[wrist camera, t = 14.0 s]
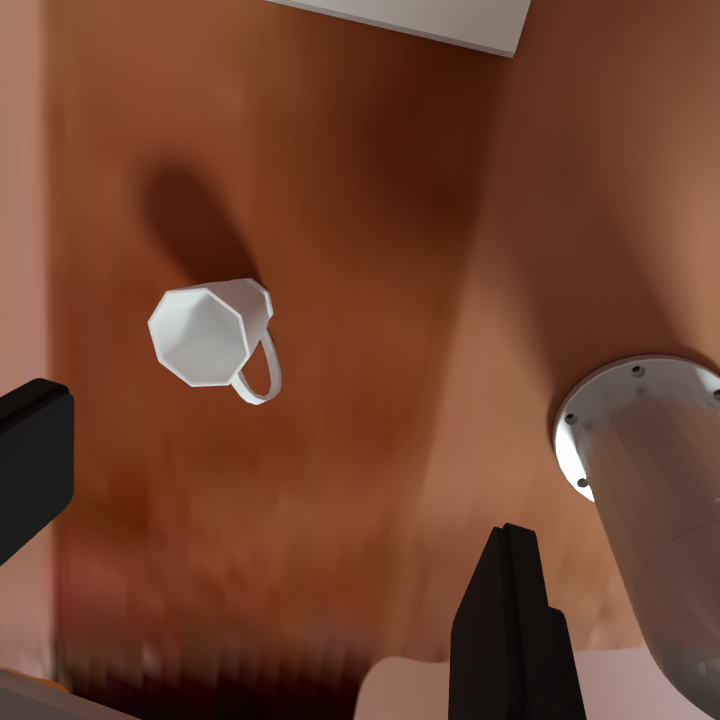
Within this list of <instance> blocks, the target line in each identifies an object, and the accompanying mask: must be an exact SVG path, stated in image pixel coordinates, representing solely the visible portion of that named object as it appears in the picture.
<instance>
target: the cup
mask: <svg viewBox="0 0 720 720" xmlns="http://www.w3.org/2000/svg"><path fill="white" fill-rule="evenodd" d="M272 315H273V309H272V304H271V299H270V293H269V292H268V291H267V290H266V289H265V288H263V287H262V286H261V285H260V284H258V283H257V282H256V281H255V280H253V279H252V278H246V279H235V280H230V281H222V282H211V283H204V284H200V285H195V286H190V287H185V288H179V289H174V290H170V291H166V293H165V294H164V296H163V298H162V299H161V301H160V303H159V304H158V306H157V308H156V309H155V311H154V313H153V314H152V316H151V318H150V319H149V321H148V326H149V329H150V333H151V336H152V340H153V344H154V347H155V351H156V354H157V358H158V361H159V362H160V363H161V364H163V365H164V366H165V367H166V368H168V369H169V370H170V371H172V372H173V373H174V374H176V375H177V376H178V377H180V378H181V379H182V380H184V381H185V382H186V383H187V384H189V385H190V386H191V387H195V386H218V385H229V384H230V383H231V384H232V386H233V387H234V388H235V390H236V391H237V392H238V394H239V395H240V396H241V397H242V398H243V399H244V400H245V401H247V402H249V403H252V404H256V405H258V404H260V403H263V402H265V401H267V400H269V399H272V398H274V397H275V396H276V395H277V394H278V393H279V392H280V388H281V384H282V381H281V371H280V367H279V363H278V359H277V355H276V351H275V347H274V345H273V342H272V339H271V337H270V334H269V332H268V330H267V329H266V328H267V324H268V321H269V319H270V317H271V316H272ZM259 340H261V342H262V345H263V348H264V350H265V354H266V358H267V362H268V366H269V371H270V377H271V388H270V392H269V394H268V395H266V396H265V397H264V396H261V395H258V394H255V393H254V392H253V391H252V390H251V389H250V387H249V385H248V383H247V382H246V380H245V378H244V376H243V374H242V371H241V368H242V367H243V365H244V364H245V363H246V361H247V360H248V359H249V357H250V356H251V354H252V353H253V351H254V349H255V347H256V346H257V344H258V342H259Z"/></svg>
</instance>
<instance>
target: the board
mask: <svg viewBox="0 0 720 720" xmlns="http://www.w3.org/2000/svg"><path fill="white" fill-rule="evenodd" d="M266 1H271V2H275V3H279V4H283V5H288V6H292V7H296V8H300V9H305V10H309V11H313V12H317V13H322V14H326V15H330V16H334V17H339V18H343V19H347V20H351V21H356V22H360V23H364V24H368V25H372V26H377V27H381V28H385V29H389V30H394V31H398V32H402V33H406V34H411V35H415V36H419V37H423V38H428V39H432V40H436V41H440V42H445V43H449V44H453V45H457V46H462V47H466V48H470V49H474V50H479V51H483V52H487V53H491V54H495V55H500V56H504V57H508V58H513V56H514V54H515V52H516V48H517V45H518V42H519V38H520V35H521V32H522V29H523V25H524V22H525V19H526V15H527V12H528V9H529V6H530V2H531V0H266Z"/></svg>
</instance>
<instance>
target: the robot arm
mask: <svg viewBox="0 0 720 720" xmlns="http://www.w3.org/2000/svg"><path fill="white" fill-rule="evenodd" d="M636 366H638V368H637V369H635V370H632V369H633V368H634V367H636ZM716 390H717V391H716ZM715 391H716V392H715ZM568 414H572V415H571V416H566V415H568ZM553 447H554V452H555V456H556V459H557V462H558V465H559V468H560V469H561V471H562V473H563V475H564V476H565V478H566V480H567V481H568V482H569V483H570V484H571V485H572V487H573V488H574V489H575V490H576V491H578V492H579V493H581V494H582V495H583V496H585V497H586V498H587V499H589V500H591V501H593V502H595V505H596V507H597V510H598V513H599V516H600V518H601V521H602V524H603V527H604V530H605V532H606V535H607V538H608V541H609V544H610V546H611V549H612V552H613V555H614V558H615V560H616V563H617V566H618V569H619V572H620V574H621V577H622V580H623V583H624V586H625V588H626V591H627V594H628V597H629V600H630V602H631V605H632V608H633V611H634V614H635V616H636V619H637V621H638V623H639V626H640V629H641V632H642V634H643V637H644V640H645V642H646V645H647V647H648V649H649V651H650V653H651V655H652V657H653V659H654V661H655V662H656V664H657V665H658V667H659V669H660V670H661V671H662V673H663V674H664V676H665V677H666V678H667V679H668V680H669V681H670V683H671V684H672V685H673V686H674V687H675V688H676V689H677V691H679V692H680V693H681V694H682V695H683V696H684V697H685V698H686V699H688V700H689V701H690V702H691V703H692V704H694V705H695V706H696V707H697V708H699V709H700V710H701V711H703V712H704V713H706V714H707V715H709V716H710V717H712V718H713V719H715V720H720V377H719V376H718V375H717V374H715V373H714V372H713V371H712V370H710V369H709V368H707V367H705V366H703V365H701V364H699V363H697V362H694V361H692V360H688V359H684V358H681V357H677V356H670V355H659V354H653V355H638V356H633V357H629V358H625V359H620V360H617V361H615V362H612V363H610V364H607V365H605V366H603V367H601V368H599V369H597V370H596V371H594V372H592V373H591V374H589V375H588V376H586V377H585V378H584V379H583V380H582V381H580V382H579V383H578V384H577V385H576V386H575V387H574V388H573V389H572V390H571V391H570V393H569V394H568V395H567V396H566V398H565V399H564V400H563V402H562V404H561V406H560V408H559V410H558V412H557V414H556V418H555V422H554V426H553ZM73 493H74V398H73V396H72V395H71V394H69V390H68V388H67V387H66V386H65V385H62V384H59V383H56V382H52V381H49V380H46V379H43V378H37V379H34V380H32V381H30V382H28V383H26V384H24V385H22V386H20V387H19V388H17V389H15V390H13V391H11V392H9V393H7V394H6V395H4V396H2V397H0V566H2V565H3V564H4V563H5V562H6V561H7V560H8V559H9V558H10V557H12V556H13V555H14V554H15V553H16V552H17V551H18V550H19V549H20V548H22V547H23V546H24V545H25V544H26V543H27V542H28V541H29V540H30V539H32V538H33V537H34V536H35V535H36V534H37V533H38V532H39V531H40V530H42V529H43V528H44V527H45V526H46V525H47V524H48V523H49V522H51V521H52V520H53V519H54V518H55V517H56V516H57V515H58V514H59V513H61V512H62V511H63V510H64V509H65V508H66V507H67V506H68V504H69V503H70V501H71V499H72V497H73ZM0 720H141V719H138V718H135V717H133V716H130V715H127V714H124V713H122V712H119V711H116V710H113V709H111V708H108V707H105V706H102V705H100V704H97V703H94V702H92V701H89V700H86V699H83V698H80V697H78V696H75V695H72V694H69V693H66V692H64V691H61V690H58V689H55V688H53V687H50V686H47V685H44V684H42V683H39V682H36V681H33V680H31V679H28V678H25V677H23V676H20V675H17V674H14V673H11V672H9V671H6V670H3V669H0ZM448 720H587V719H586V714H585V710H584V704H583V700H582V695H581V690H580V685H579V680H578V676H577V671H576V666H575V661H574V656H573V651H572V647H571V642H570V637H569V632H568V627H567V623H566V619H565V616H564V614H563V613H562V612H561V610H558V609H555V608H552V607H549V605H548V600H547V594H546V588H545V583H544V577H543V571H542V566H541V560H540V554H539V549H538V543H537V537H536V534H535V532H534V531H532V530H529V529H526V528H523V527H519V526H516V525H513V524H510V523H506V524H505V525H504V526H503V528H502V529H501V528H498V527H494V528H493V530H492V532H491V534H490V536H489V539H488V541H487V543H486V546H485V548H484V550H483V553H482V555H481V557H480V560H479V562H478V564H477V567H476V569H475V571H474V574H473V576H472V578H471V581H470V583H469V585H468V588H467V590H466V592H465V594H464V597H463V599H462V601H461V604H460V606H459V608H458V611H457V613H456V615H455V618H454V621H453V626H452V631H451V650H450V679H449V708H448Z"/></svg>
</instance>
